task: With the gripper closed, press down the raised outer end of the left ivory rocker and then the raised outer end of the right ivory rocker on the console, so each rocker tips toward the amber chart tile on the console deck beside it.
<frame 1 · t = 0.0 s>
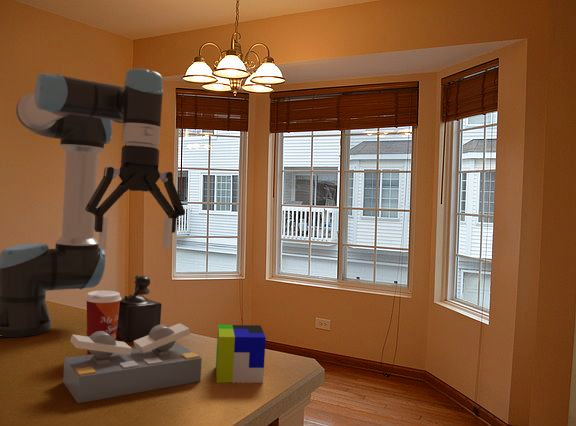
hand: (135, 248, 105), 28 cm above the worktop, fingers open, 13 cm apart
puzzle toy: (238, 375, 114), on the worktop
console: (133, 381, 106), on the worktop
coffee cup: (100, 355, 121), on the worktop
rocker right: (162, 337, 110), point 8 cm above the worktop, hinge at 15.0°
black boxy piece: (138, 338, 138), on the worktop
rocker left: (101, 344, 103), point 8 cm above the worktop, hinge at -15.0°
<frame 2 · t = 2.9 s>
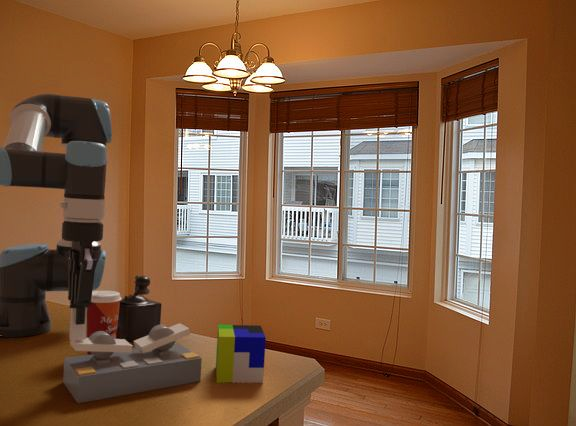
hand: (77, 339, 100), 10 cm above the worktop, fingers closed
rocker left: (101, 344, 103), point 8 cm above the worktop, hinge at -9.0°, touching gripper
everything else where it was.
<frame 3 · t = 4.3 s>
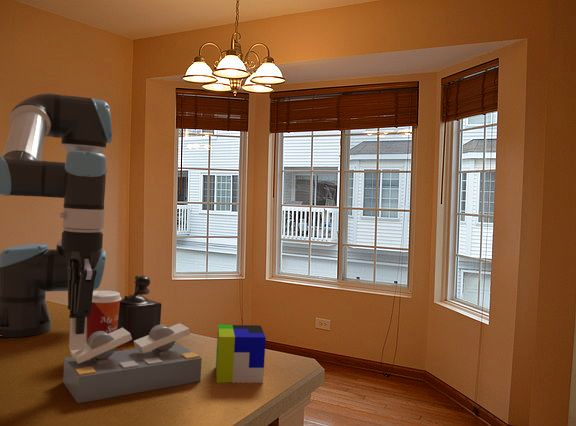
hand: (77, 348, 100), 8 cm above the worktop, fingers closed
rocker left: (101, 344, 103), point 8 cm above the worktop, hinge at 19.0°, touching gripper
everything else where it was.
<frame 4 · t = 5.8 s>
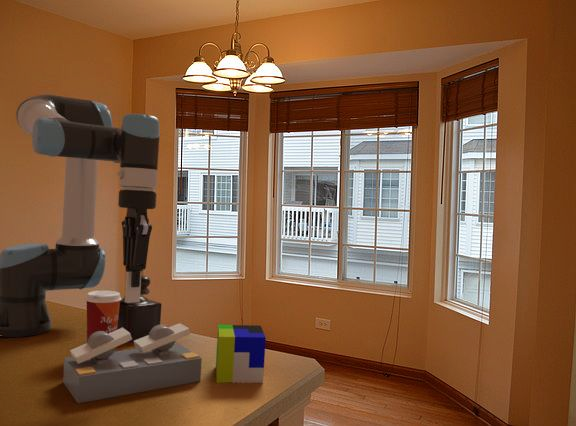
hand: (132, 301, 106), 17 cm above the worktop, fingers closed
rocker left: (101, 344, 103), point 8 cm above the worktop, hinge at 19.0°
everything else where it was.
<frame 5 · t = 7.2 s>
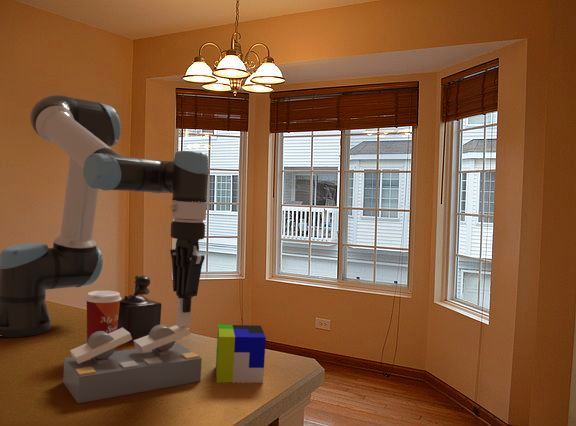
hand: (183, 325, 113), 10 cm above the worktop, fingers closed
rocker right: (162, 337, 110), point 8 cm above the worktop, hinge at 13.9°, touching gripper
everything else where it was.
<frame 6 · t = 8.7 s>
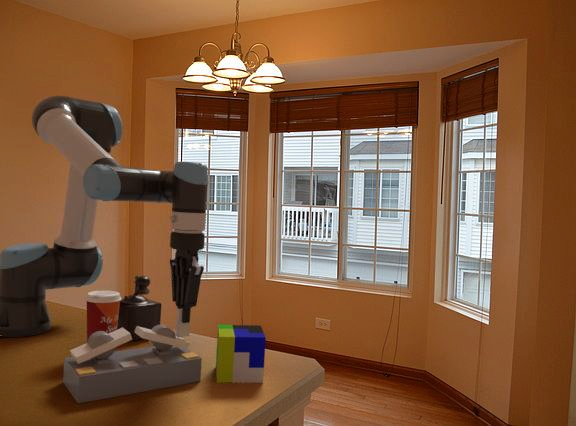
hand: (182, 335, 113), 8 cm above the worktop, fingers closed
rocker right: (162, 337, 110), point 8 cm above the worktop, hinge at -18.9°, touching gripper
everything else where it was.
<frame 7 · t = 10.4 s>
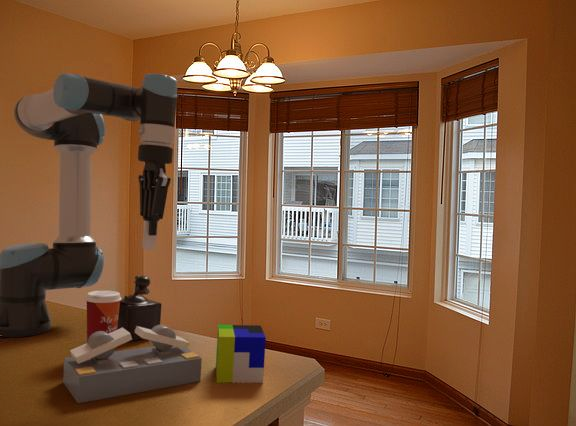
hand: (149, 249, 114), 27 cm above the worktop, fingers closed
rocker right: (162, 337, 110), point 8 cm above the worktop, hinge at -19.0°
everything else where it was.
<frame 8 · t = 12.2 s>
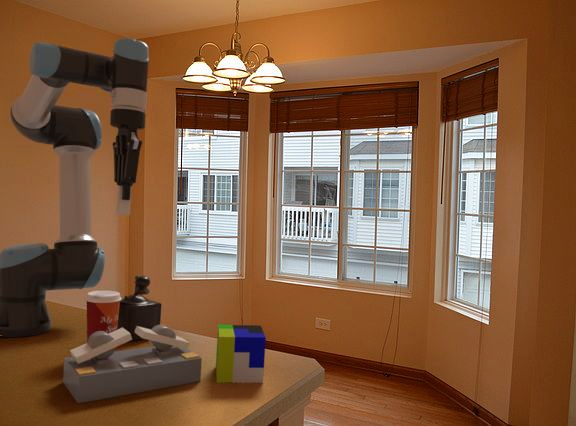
hand: (123, 214, 114), 34 cm above the worktop, fingers closed
nothing on the worktop moved.
at the end: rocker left at +19° (first picture: -15°); rocker right at -19° (first picture: +15°) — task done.
